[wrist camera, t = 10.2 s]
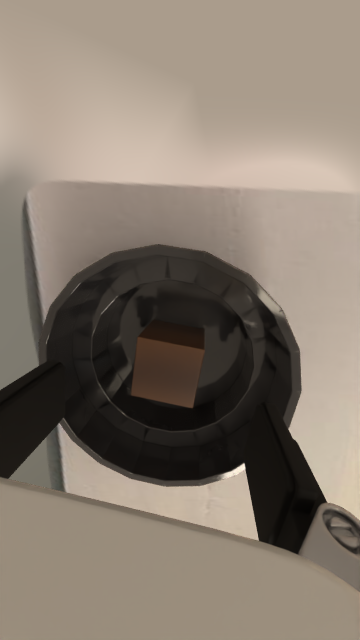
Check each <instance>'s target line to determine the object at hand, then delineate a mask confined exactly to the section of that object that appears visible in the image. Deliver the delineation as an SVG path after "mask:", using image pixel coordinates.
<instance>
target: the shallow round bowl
mask: <svg viewBox="0 0 360 640" xmlns="http://www.w3.org/2000/svg"><path fill="white" fill-rule="evenodd" d="M152 320H158V321H163V322H169V323H174V324H179V325H185V326H190V327H195V328H201V329H205V353H204V358H203V362H202V367H201V372H200V377H199V382H198V386H197V391H196V396H195V401H194V406H193V408H189V407H184V406H179V405H174V404H170V403H165V402H160V401H155V400H151V399H146V398H141V397H137V396H132V395H131V388H132V379H133V370H134V362H135V353H136V344H137V337H138V336H139V335H140V334H141V332H142V331H143V330H144V329H145V328H146V327H147V326H148V325H149V324H150V322H151V321H152ZM48 360H53V361H58V362H61V363H62V364H63V366H65V415H64V417H63V419H62V420H61V421H60V422H59V423H60V424H61V426H62V427H63V428H64V430H65V431H66V433H67V434H68V436H69V437H70V438H71V440H72V441H73V442H75V443H76V444H77V445H78V446H79V447H81V448H82V449H83V450H84V451H85V452H86V453H88V454H89V455H90V456H91V457H92V458H94V459H95V460H96V461H97V462H99V463H100V464H102V465H104V466H106V467H108V468H110V469H112V470H114V471H116V472H118V473H120V474H122V475H124V476H126V477H128V478H131V479H134V480H138V481H143V482H147V483H152V484H156V485H160V486H166V487H171V486H202V485H206V484H209V483H212V482H216V481H219V480H223V479H226V478H230V477H233V476H235V475H238V474H239V473H241V472H242V471H244V470H245V464H244V457H243V454H244V448H245V445H246V441H247V438H248V434H249V431H250V427H251V424H252V420H253V417H254V413H255V410H256V407H257V405H258V404H259V405H261V403H262V402H266V403H271V404H275V405H276V406H277V407H278V410H279V412H280V414H281V416H282V418H283V420H284V422H285V424H286V426H287V428H289V427H290V424H291V421H292V418H293V415H294V412H295V409H296V406H297V403H298V400H299V397H300V394H301V366H300V350H299V347H298V344H297V342H296V340H295V337H294V335H293V333H292V330H291V328H290V326H289V323H288V321H287V319H286V316H285V314H284V312H283V310H282V308H281V307H280V306H279V305H278V304H277V303H276V302H275V301H274V300H273V299H272V297H271V296H270V295H269V294H268V293H267V292H266V291H265V290H264V289H263V288H262V287H261V286H260V285H259V284H258V283H257V282H256V280H255V279H254V278H253V277H252V276H251V275H249V274H248V273H246V272H244V271H242V270H240V269H238V268H237V267H235V266H233V265H231V264H229V263H227V262H225V261H223V260H221V259H219V258H217V257H216V256H214V255H212V254H210V253H208V252H205V251H199V250H193V249H186V248H179V247H173V246H166V245H160V244H158V245H157V244H156V245H151V246H145V247H140V248H135V249H130V250H124V251H119V252H114V253H111V254H109V255H107V256H106V257H104V258H102V259H101V260H99V261H97V262H96V263H94V264H92V265H91V266H89V267H87V268H86V269H84V270H82V271H81V272H79V273H77V274H76V275H75V276H74V277H73V278H72V279H71V280H70V282H69V283H68V284H67V286H66V287H65V288H64V289H63V291H62V292H61V293H60V294H59V296H58V297H57V298H56V299H55V301H54V302H53V303H52V304H51V306H50V308H49V311H48V314H47V317H46V320H45V323H44V327H43V330H42V333H41V336H40V339H39V366H40V365H41V364H43V363H45V362H46V361H48Z"/></svg>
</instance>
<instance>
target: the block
mask: <svg viewBox="0 0 360 640" xmlns="http://www.w3.org/2000/svg"><path fill="white" fill-rule="evenodd" d="M204 353H205V329H201V328H195V327H190V326H185V325H179V324H174V323H169V322H163V321H158V320H152V321H151V322H150V324H149V325H148V326H147V327H146V328H145V329H144V330H143V331H142V332H141V334H140V335H139V336H138V337H137V344H136V353H135V362H134V370H133V379H132V388H131V395H132V396H137V397H141V398H146V399H151V400H155V401H160V402H165V403H170V404H174V405H179V406H184V407H189V408H193V406H194V401H195V396H196V391H197V386H198V382H199V377H200V372H201V367H202V362H203V358H204Z"/></svg>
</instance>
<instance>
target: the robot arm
mask: <svg viewBox="0 0 360 640" xmlns="http://www.w3.org/2000/svg"><path fill="white" fill-rule="evenodd" d="M64 415H65V366H63V364H62V363H61V362H58V361H53V360H48V361H46V362H45V363H43V364H41V365H40V366H38V367H37V368H35V369H33V370H32V371H30V372H29V373H27V374H25V375H24V376H22V377H21V378H19V379H17V380H16V381H14V382H13V383H11V384H9V385H8V386H6V387H5V388H3V389H1V390H0V640H360V521H359V520H358V519H357V518H356V517H355V516H354V515H352V514H351V513H350V512H348V511H347V510H345V509H344V508H342V507H340V506H338V505H335V504H332V503H327V501H326V499H325V497H324V495H323V493H322V491H321V489H320V487H319V485H318V483H317V481H316V479H315V477H314V475H313V473H312V471H311V469H310V467H309V465H308V463H307V461H306V459H305V457H304V455H303V453H302V451H301V449H300V447H299V445H298V443H297V442H296V441H295V440H294V439H293V438H292V436H291V434H290V432H289V430H288V428H287V426H286V424H285V422H284V420H283V418H282V416H281V414H280V412H279V410H278V407H277V406H276V405H275V404H271V403H266V402H262V403H261V405H259V404H258V405H257V407H256V410H255V413H254V417H253V420H252V424H251V427H250V431H249V434H248V438H247V441H246V445H245V448H244V454H243V457H244V464H245V469H246V474H247V480H248V485H249V490H250V495H251V501H252V506H253V511H254V517H255V522H256V527H257V532H258V538H259V541H257V540H254V539H250V538H246V537H242V536H239V535H235V534H231V533H228V532H224V531H220V530H216V529H213V528H209V527H205V526H201V525H197V524H193V523H189V522H185V521H180V520H176V519H172V518H168V517H164V516H160V515H156V514H152V513H148V512H144V511H140V510H136V509H132V508H128V507H124V506H120V505H115V504H111V503H107V502H103V501H99V500H95V499H91V498H86V497H82V496H78V495H74V494H70V493H66V492H62V491H57V490H53V489H49V488H44V487H40V486H36V485H32V484H27V483H23V482H19V481H14V480H10V479H8V478H9V477H10V476H11V475H12V474H13V473H14V472H15V470H17V468H18V467H19V466H20V465H21V464H22V463H23V462H24V461H25V460H26V459H27V457H28V456H29V455H30V454H31V453H32V452H33V451H34V450H35V449H36V448H37V447H38V445H39V444H40V443H41V442H42V441H43V440H44V439H45V438H46V437H47V436H48V434H49V433H50V432H51V431H52V430H53V429H54V428H55V427H56V426H57V425H58V423H59V422H60V421H61V420H62V419H63V417H64Z"/></svg>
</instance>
